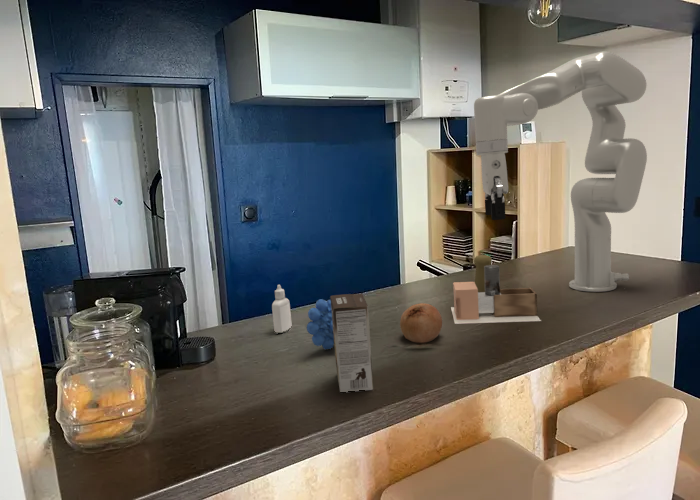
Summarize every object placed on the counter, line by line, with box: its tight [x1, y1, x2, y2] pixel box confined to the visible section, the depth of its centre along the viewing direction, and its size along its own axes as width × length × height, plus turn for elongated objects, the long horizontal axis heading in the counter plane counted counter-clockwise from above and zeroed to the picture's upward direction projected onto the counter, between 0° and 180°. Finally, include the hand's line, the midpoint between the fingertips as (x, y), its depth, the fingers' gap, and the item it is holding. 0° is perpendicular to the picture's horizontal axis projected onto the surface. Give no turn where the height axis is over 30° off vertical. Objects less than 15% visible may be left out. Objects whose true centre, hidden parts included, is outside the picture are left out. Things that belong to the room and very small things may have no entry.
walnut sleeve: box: [493, 287, 538, 317], centre depth 129 cm, size 10×6×6 cm, turn 83°
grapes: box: [306, 298, 334, 350], centre depth 115 cm, size 12×7×12 cm, turn 138°
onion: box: [399, 302, 443, 344], centre depth 117 cm, size 10×9×10 cm
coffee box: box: [329, 293, 374, 393], centre depth 97 cm, size 9×6×16 cm
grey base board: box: [450, 306, 542, 325], centre depth 130 cm, size 20×14×1 cm
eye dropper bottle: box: [271, 284, 293, 333], centre depth 132 cm, size 4×6×12 cm
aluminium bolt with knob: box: [478, 264, 501, 313], centre depth 130 cm, size 10×4×11 cm, turn 83°
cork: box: [473, 254, 493, 292], centre depth 155 cm, size 6×6×11 cm
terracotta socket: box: [452, 281, 479, 320], centre depth 131 cm, size 5×8×8 cm, turn 173°
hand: (495, 216), depth 131 cm, fingers open, 9 cm apart
